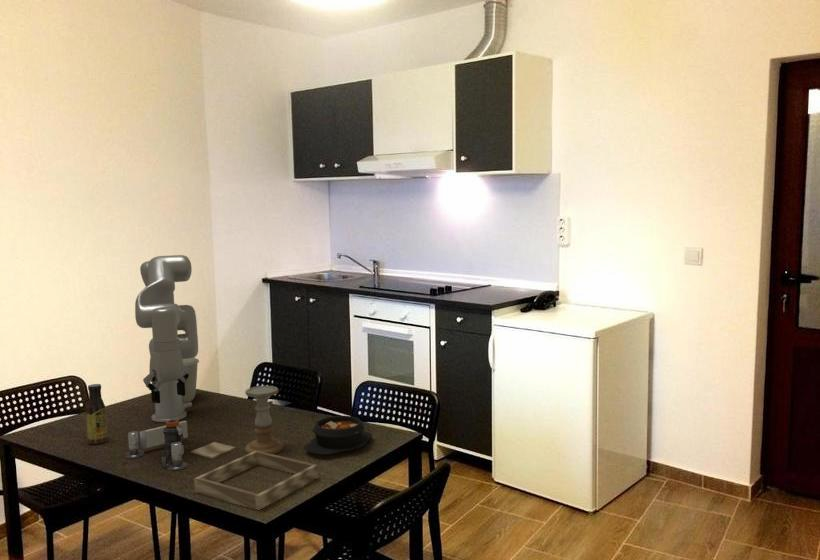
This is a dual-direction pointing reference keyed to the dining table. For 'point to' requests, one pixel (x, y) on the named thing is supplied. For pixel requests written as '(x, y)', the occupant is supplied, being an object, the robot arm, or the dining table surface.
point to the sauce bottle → (96, 416)
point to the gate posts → (175, 452)
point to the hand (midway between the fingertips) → (169, 398)
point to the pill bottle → (172, 436)
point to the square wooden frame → (215, 489)
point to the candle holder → (263, 421)
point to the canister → (190, 379)
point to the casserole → (338, 435)
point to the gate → (157, 435)
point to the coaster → (213, 450)
